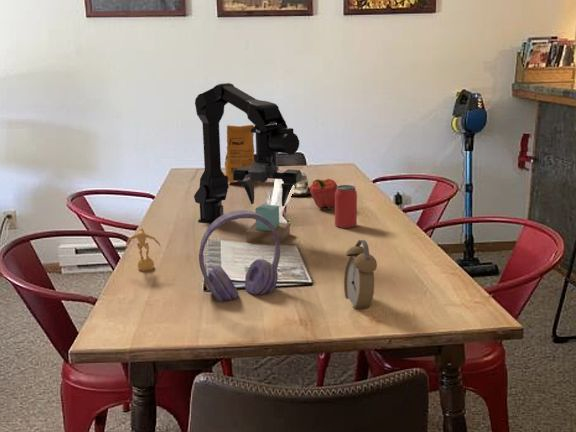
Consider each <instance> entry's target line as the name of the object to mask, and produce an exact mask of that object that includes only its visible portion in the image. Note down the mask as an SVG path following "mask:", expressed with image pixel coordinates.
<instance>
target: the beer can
mask: <svg viewBox="0 0 576 432" xmlns="http://www.w3.org/2000/svg"><path fill="white" fill-rule="evenodd" d="M337 186H338V187H337V190H336V192H335V206H334V225H335V226H336V227H338V228H341V229H350V228H354V227H356V225H357V217H358V216H357V215H358V209H357V208H358V205H357V204H358V194H357V190H356V186H354V185H351V184H341V185H337Z"/></svg>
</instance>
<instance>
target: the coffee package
mask: <svg viewBox="0 0 576 432" xmlns="http://www.w3.org/2000/svg"><path fill="white" fill-rule="evenodd" d="M254 126H255V125H254V124H248V125H241V126H240V125H239V126H237V125H230V124H227V125H226V143H227V145H226V154H225V160H224V170H225V175H227V176H228V183H232V182H233V183H234V182H237V181H238V180H233V176H232V174H233V171H234V170H235V169H237V168H239V167H251V165H252V164H253V163H254V157H255V145H254V134H255V133H251V132H250V130H251V129H252V128H253V127H254Z"/></svg>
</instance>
